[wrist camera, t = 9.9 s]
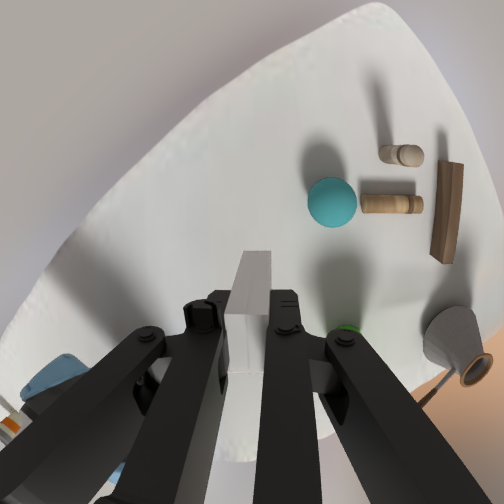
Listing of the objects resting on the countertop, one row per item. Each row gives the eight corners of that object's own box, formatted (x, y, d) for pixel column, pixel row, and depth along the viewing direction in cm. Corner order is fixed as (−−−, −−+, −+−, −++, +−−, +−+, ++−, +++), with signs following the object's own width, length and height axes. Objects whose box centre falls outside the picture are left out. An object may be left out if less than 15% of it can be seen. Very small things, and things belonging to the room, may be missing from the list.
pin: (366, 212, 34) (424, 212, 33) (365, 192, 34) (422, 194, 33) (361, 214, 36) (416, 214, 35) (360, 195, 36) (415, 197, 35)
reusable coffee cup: (26, 416, 68) (8, 441, 53) (37, 434, 72) (22, 458, 58) (6, 403, 68) (-12, 425, 54) (17, 421, 72) (2, 443, 58)
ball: (364, 229, 31) (350, 221, 37) (361, 176, 30) (348, 176, 35) (313, 233, 32) (306, 225, 37) (309, 178, 30) (303, 179, 36)
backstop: (429, 254, 37) (442, 263, 34) (438, 160, 33) (452, 162, 29) (439, 254, 37) (452, 263, 34) (448, 162, 33) (463, 164, 29)
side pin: (378, 163, 34) (405, 166, 26) (378, 144, 33) (405, 143, 25) (394, 164, 34) (424, 168, 26) (394, 146, 33) (424, 145, 25)
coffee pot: (465, 287, 39) (515, 333, 25) (469, 333, 42) (508, 381, 28) (359, 344, 43) (383, 412, 29) (375, 385, 46) (395, 446, 32)
